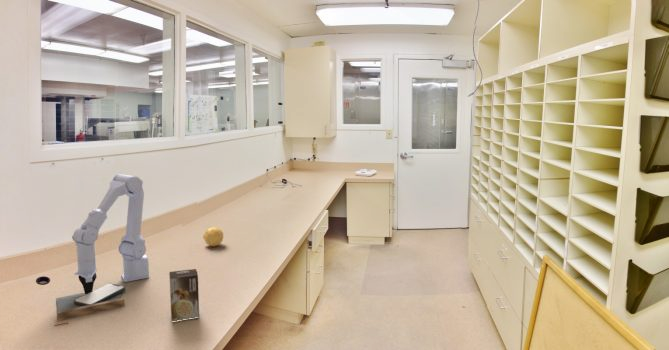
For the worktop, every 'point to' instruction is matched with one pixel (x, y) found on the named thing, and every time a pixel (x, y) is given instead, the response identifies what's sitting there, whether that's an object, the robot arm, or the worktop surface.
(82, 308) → the back rail
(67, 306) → the mat
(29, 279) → the worktop surface
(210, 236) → the stress ball
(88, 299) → the phone case
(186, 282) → the coffee box
